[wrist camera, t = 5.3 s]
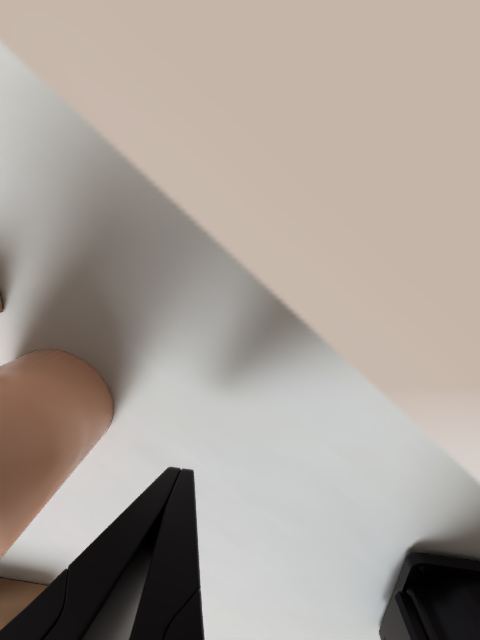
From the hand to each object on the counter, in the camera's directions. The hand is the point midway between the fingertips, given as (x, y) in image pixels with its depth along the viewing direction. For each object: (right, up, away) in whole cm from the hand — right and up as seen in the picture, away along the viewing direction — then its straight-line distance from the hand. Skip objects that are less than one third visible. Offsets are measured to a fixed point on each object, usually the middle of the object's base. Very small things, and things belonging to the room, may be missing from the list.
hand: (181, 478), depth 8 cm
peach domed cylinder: (-6, +1, +3) cm, 7 cm away
